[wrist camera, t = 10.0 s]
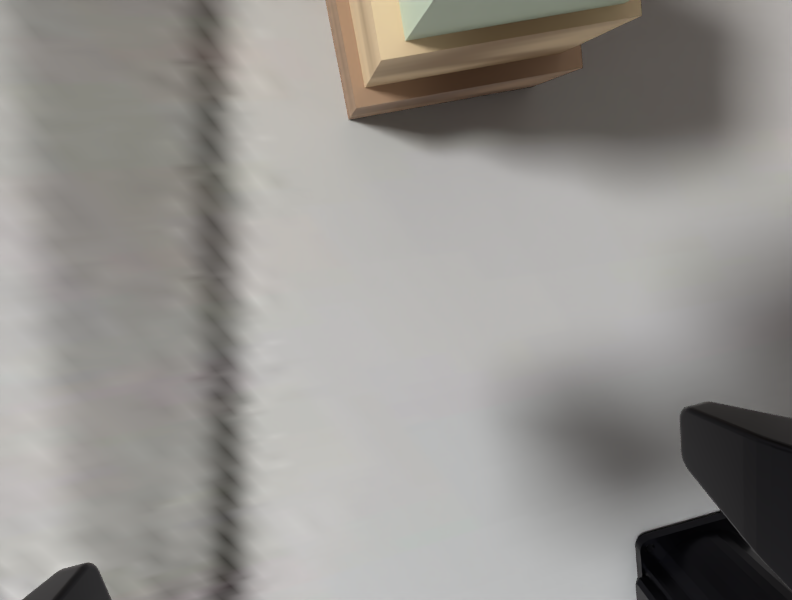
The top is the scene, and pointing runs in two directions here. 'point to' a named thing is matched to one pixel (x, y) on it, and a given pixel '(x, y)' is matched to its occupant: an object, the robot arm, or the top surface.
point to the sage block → (481, 13)
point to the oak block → (469, 40)
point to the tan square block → (437, 86)
